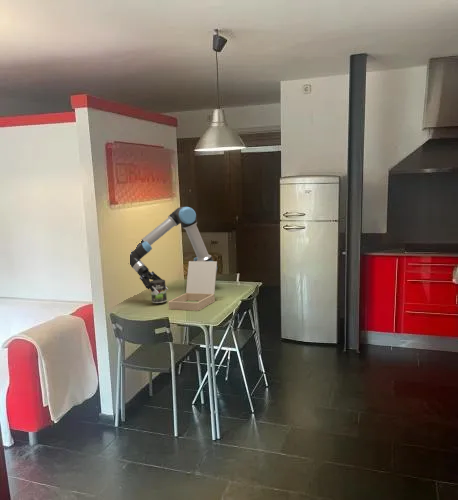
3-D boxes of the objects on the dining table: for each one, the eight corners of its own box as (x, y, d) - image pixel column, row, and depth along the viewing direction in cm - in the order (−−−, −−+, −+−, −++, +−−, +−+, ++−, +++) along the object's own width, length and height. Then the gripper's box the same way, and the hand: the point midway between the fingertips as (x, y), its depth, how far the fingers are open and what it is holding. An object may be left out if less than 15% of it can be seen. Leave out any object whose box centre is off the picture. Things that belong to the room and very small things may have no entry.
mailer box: (192, 296, 318) (189, 261, 314) (220, 298, 308) (217, 261, 304) (169, 308, 292) (164, 269, 288) (198, 310, 282) (194, 270, 278)
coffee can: (167, 302, 304) (165, 281, 302) (152, 304, 302) (150, 283, 300) (166, 298, 314) (164, 278, 312) (151, 300, 312) (149, 280, 310)
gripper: (148, 269, 322) (168, 291, 317) (127, 276, 302) (149, 300, 297) (153, 262, 319) (174, 284, 314) (133, 268, 299) (155, 292, 294)
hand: (162, 292), depth 306 cm, fingers closed on coffee can, 10 cm apart
